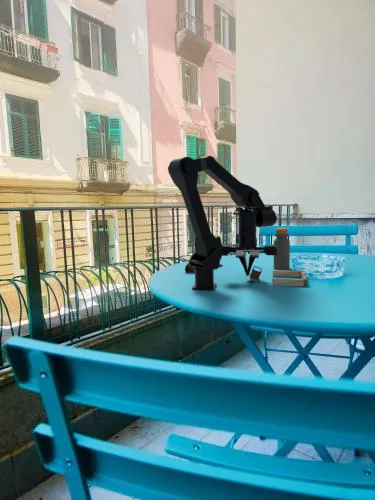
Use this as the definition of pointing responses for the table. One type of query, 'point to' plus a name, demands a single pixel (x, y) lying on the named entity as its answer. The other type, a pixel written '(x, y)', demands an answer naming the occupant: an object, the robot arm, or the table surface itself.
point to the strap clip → (255, 274)
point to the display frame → (289, 281)
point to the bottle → (282, 249)
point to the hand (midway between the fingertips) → (247, 275)
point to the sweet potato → (192, 268)
